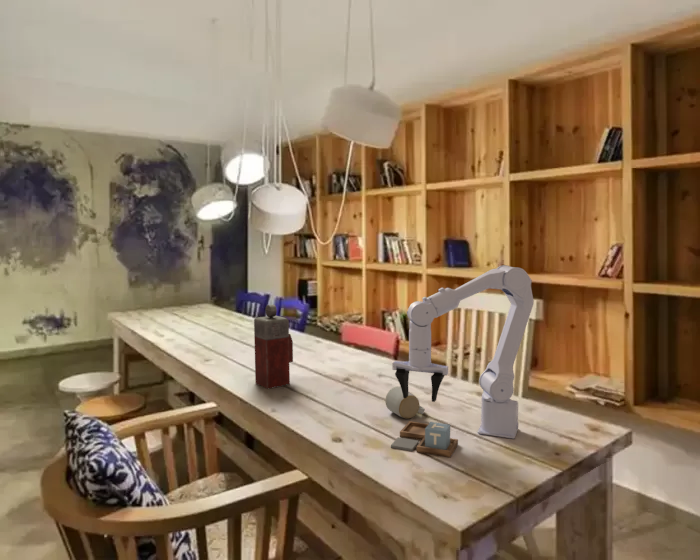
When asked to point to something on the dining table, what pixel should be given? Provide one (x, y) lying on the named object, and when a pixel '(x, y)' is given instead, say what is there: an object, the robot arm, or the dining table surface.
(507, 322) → the robot arm
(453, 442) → the tray
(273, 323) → the dark red bottle
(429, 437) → the letter cube
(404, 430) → the tray
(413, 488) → the dining table surface
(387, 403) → the ceramic mug
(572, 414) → the dining table surface
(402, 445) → the slate tile
